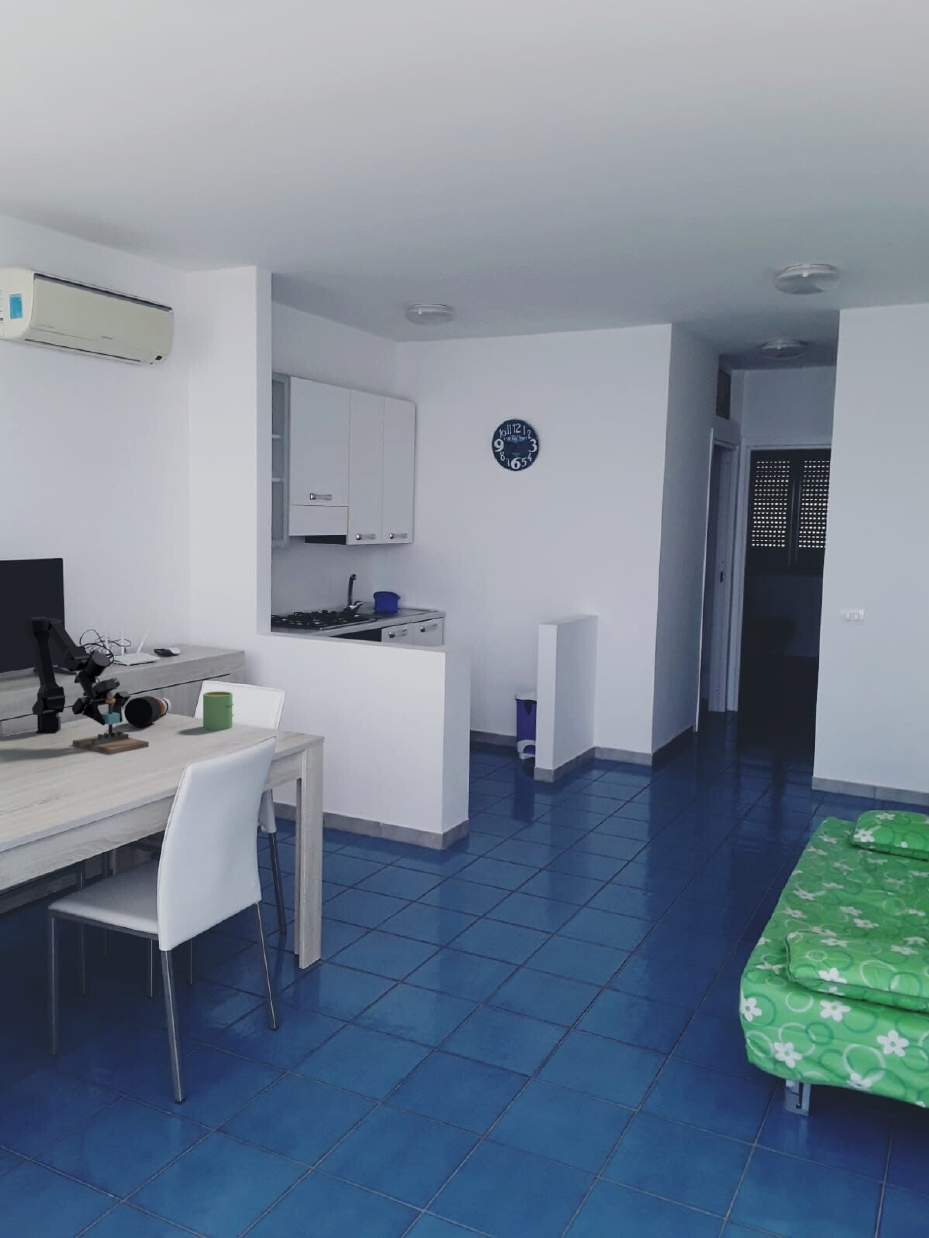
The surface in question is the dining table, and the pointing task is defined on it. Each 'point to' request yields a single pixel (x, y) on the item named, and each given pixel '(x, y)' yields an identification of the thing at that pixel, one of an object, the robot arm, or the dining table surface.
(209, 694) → the mug
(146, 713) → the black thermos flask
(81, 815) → the dining table surface
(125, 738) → the wooden base post stand
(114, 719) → the sleeve
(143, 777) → the dining table surface
